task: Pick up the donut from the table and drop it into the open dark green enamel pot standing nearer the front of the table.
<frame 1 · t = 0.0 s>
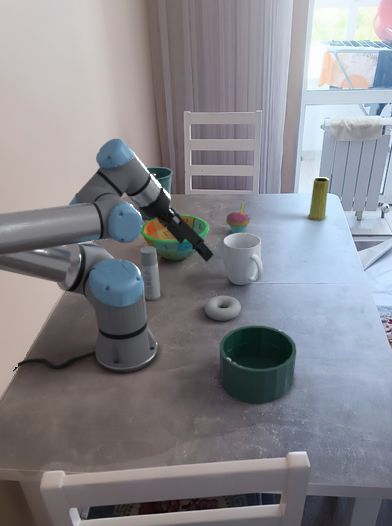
hand: (196, 248, 131), 15 cm above the table, tool tilted 35°, fingers open, 13 cm apart
vase: (316, 217, 184), on the table
container: (152, 297, 142), on the table
pot: (255, 377, 111), on the table
donut: (222, 313, 134), on the table
mug: (243, 282, 147), on the table
cupcake: (237, 231, 176), on the table
bowl: (176, 256, 162), on the table
flower pot: (154, 214, 192), on the table
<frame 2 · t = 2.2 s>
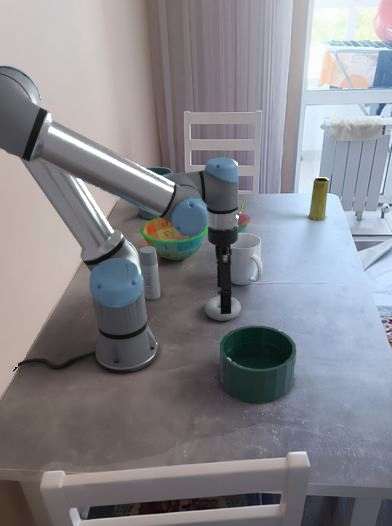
hand: (224, 299, 131), 4 cm above the table, tool pointing down, fingers open, 13 cm apart
nothing on the table moved.
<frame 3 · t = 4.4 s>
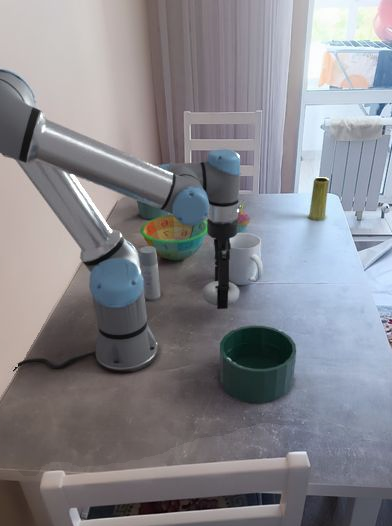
hand: (220, 297, 130), 5 cm above the table, tool pointing down, fingers closed on donut, 10 cm apart
donut: (220, 299, 131), point 5 cm above the table, touching gripper
everything else where it was.
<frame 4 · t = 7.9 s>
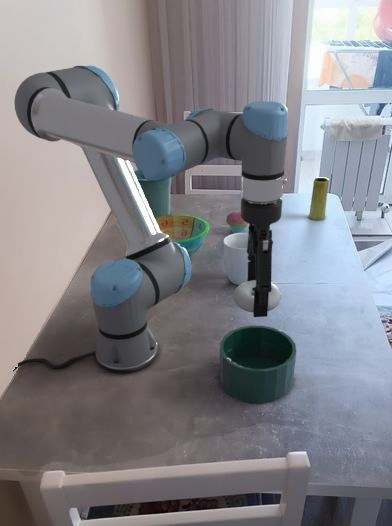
hand: (256, 302, 101), 19 cm above the table, tool pointing down, fingers closed on donut, 10 cm apart
donut: (256, 303, 102), point 19 cm above the table, touching gripper
everything else where it was.
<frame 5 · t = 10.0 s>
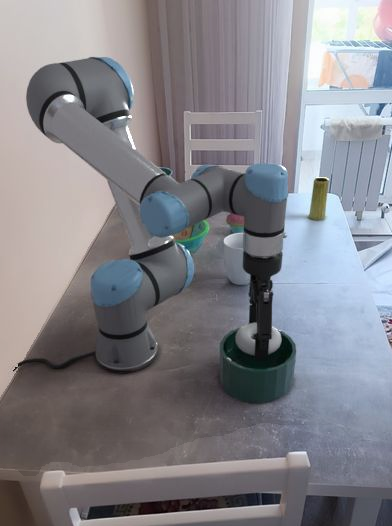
hand: (257, 344, 105), 10 cm above the table, tool pointing down, fingers closed on donut, 10 cm apart
donut: (257, 345, 106), point 9 cm above the table, touching gripper
everything else where it was.
when the fingers open (6 cm above the table, at t = 11.8 s): donut drops 5 cm, resting on pot.
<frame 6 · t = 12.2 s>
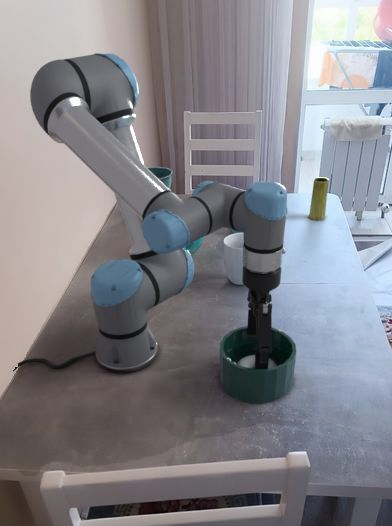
hand: (256, 351, 107), 8 cm above the table, tool pointing down, fingers open, 13 cm apart
donut: (256, 377, 111), resting on pot
everything else where it was.
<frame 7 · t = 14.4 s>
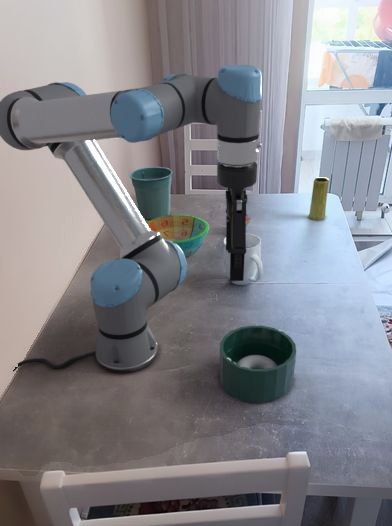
hand: (234, 264, 103), 25 cm above the table, tool pointing down, fingers open, 13 cm apart
nothing on the table moved.
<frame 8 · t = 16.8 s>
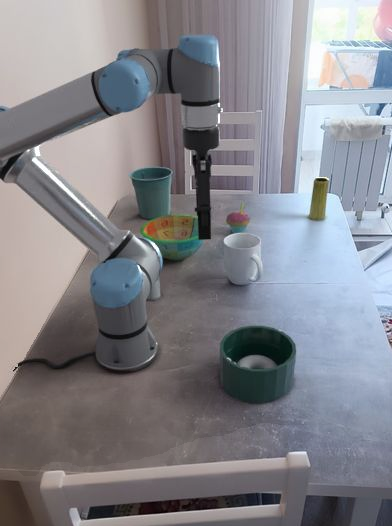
hand: (203, 226, 110), 29 cm above the table, tool pointing down, fingers open, 13 cm apart
nothing on the table moved.
at the end: donut inside the target area in the pot (0.1 cm from its centre), point 0.3 cm above the pot's base; the gripper is holding nothing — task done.
